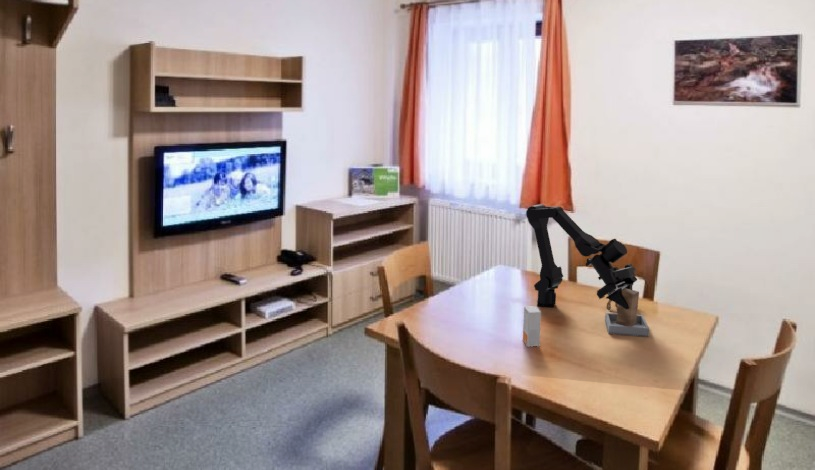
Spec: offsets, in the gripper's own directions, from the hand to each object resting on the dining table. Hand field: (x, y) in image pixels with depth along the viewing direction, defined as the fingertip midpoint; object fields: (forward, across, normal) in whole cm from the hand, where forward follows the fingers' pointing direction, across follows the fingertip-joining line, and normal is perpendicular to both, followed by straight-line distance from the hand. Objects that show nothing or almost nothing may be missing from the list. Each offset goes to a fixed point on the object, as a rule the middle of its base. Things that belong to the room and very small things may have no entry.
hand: (631, 307), depth 214 cm
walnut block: (+4, 0, +6) cm, 7 cm away
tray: (+5, 0, +7) cm, 8 cm away
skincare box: (-5, -36, +17) cm, 40 cm away
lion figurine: (-4, +20, +16) cm, 26 cm away
